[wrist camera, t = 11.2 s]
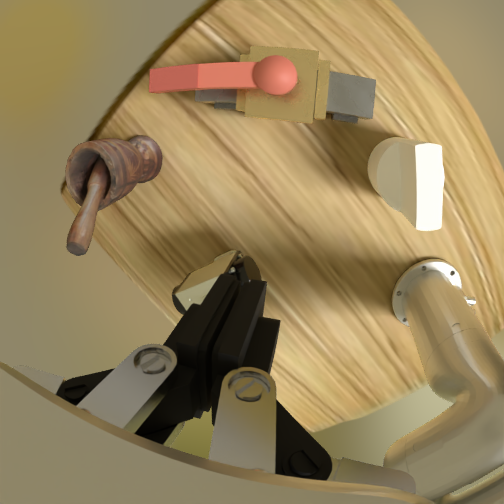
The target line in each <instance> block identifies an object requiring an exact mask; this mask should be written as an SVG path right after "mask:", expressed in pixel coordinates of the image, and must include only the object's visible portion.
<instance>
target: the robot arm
mask: <svg viewBox="0 0 504 504" xmlns="http://www.w3.org/2000/svg"><path fill="white" fill-rule="evenodd" d="M422 266H423V267H422ZM266 286H267V282H266V281H261V280H255V279H251V281H250V283H249V282H245V283H244V285H243V287H242V289H241V281H238V280H237V278H236V276H232V275H227V274H220V275H219V277H218V278H217V280H216V282H215V283H214V285H213V286H212V288H211V289H210V291H209V292H208V294H207V295H206V297H205V298H204V300H203V301H202V303H201V304H195V303H193V304H191V306H190V307H189V308H188V310H187V311H186V313H185V314H184V315H183V317H182V318H181V320H180V321H179V323H178V324H177V326H176V327H175V329H174V330H173V331H172V333H171V334H170V336H169V337H168V339H167V340H166V342H165V343H164V344H163V345H160V344H148V345H143V346H141V347H138V348H137V349H136V350H134V351H133V352H132V353H131V354H130V355H129V356H128V357H127V358H126V359H124V361H122V362H121V363H120V364H119V365H118V366H117V367H116V368H114V369H110V370H106V371H102V372H98V373H93V374H89V375H85V376H80V377H75V378H72V379H69V380H67V381H66V380H65V378H64V377H61V376H57V375H54V374H50V373H47V372H44V371H40V370H37V369H34V368H30V367H27V366H23V365H20V366H15V367H13V368H12V367H10V366H8V365H7V364H5V363H3V362H0V504H504V469H503V470H501V471H500V472H498V473H496V474H494V475H493V476H491V477H489V478H488V479H486V480H484V481H482V482H481V483H479V484H477V485H475V486H473V487H471V488H470V489H467V490H465V491H463V492H461V493H459V494H456V495H455V494H452V492H454V491H456V490H458V489H460V488H462V487H464V486H466V485H468V484H471V483H473V482H474V481H476V480H478V479H480V478H482V477H483V476H485V475H487V474H488V473H490V472H492V471H493V470H495V469H497V468H498V467H500V466H502V465H503V464H504V360H503V358H502V357H501V355H500V353H499V352H498V350H497V349H496V347H495V345H494V344H493V342H492V340H491V339H490V337H489V335H488V334H487V332H486V330H485V329H484V327H483V325H482V324H481V322H480V321H479V319H478V318H477V316H476V314H475V310H474V309H472V308H471V307H470V305H474V304H475V297H470V296H468V297H467V296H466V295H465V294H464V293H463V291H462V283H461V278H460V275H459V273H458V272H457V270H456V269H455V268H454V267H453V266H452V265H451V264H450V263H449V262H446V261H444V260H440V259H428V260H424V261H421V262H419V263H416V264H415V265H413V266H412V267H410V268H409V269H408V270H407V271H405V272H404V273H403V275H402V276H401V277H400V278H399V280H398V281H397V283H396V285H395V287H394V290H393V294H392V307H393V311H394V313H395V316H396V317H397V319H398V320H399V321H400V322H401V323H402V324H404V325H406V326H408V327H410V329H411V332H412V335H413V338H414V341H415V344H416V347H417V350H418V353H419V356H420V359H421V362H422V365H423V368H424V371H425V374H426V377H427V381H428V383H429V386H430V387H431V389H432V391H433V392H435V394H436V395H438V396H439V397H440V398H442V399H445V400H447V401H449V402H452V403H454V404H453V405H452V406H451V407H449V408H448V409H447V410H445V411H444V412H442V413H441V414H440V415H439V416H437V417H436V418H434V419H432V420H431V421H429V422H427V423H426V424H424V425H423V426H421V427H419V428H417V429H416V430H414V431H412V432H410V433H409V434H407V435H405V436H404V437H402V438H401V439H399V440H397V441H396V442H395V443H394V444H392V445H391V447H390V448H389V449H388V450H387V452H386V454H385V457H384V461H383V467H381V466H376V465H372V464H368V463H364V462H360V461H356V460H351V459H348V458H344V457H343V458H342V459H341V460H340V459H337V458H333V457H330V456H329V454H328V453H327V451H326V450H325V449H324V448H323V447H322V446H321V445H320V444H319V443H318V442H317V441H316V440H315V439H314V438H313V437H312V436H311V435H310V434H309V433H308V432H307V431H306V430H305V429H304V428H303V427H302V426H301V425H300V424H299V423H298V422H297V421H296V420H295V419H294V418H293V417H292V416H291V415H290V413H289V412H288V411H287V410H286V409H285V408H284V407H283V406H282V405H281V404H280V403H279V402H278V401H277V399H276V384H275V381H274V380H273V378H272V376H270V371H271V367H272V363H273V358H274V354H275V349H276V344H277V339H278V333H279V327H280V320H276V319H271V318H265V317H263V310H264V302H265V294H266ZM211 406H212V424H213V426H214V431H213V436H212V442H211V447H210V454H209V459H205V458H202V457H198V456H195V455H192V454H188V453H185V452H181V451H179V450H176V449H173V448H170V446H171V444H172V443H173V442H174V440H175V439H176V437H177V436H178V435H179V433H180V432H181V430H182V429H183V427H184V424H185V421H187V420H190V419H193V417H196V418H199V419H200V418H201V416H202V413H203V411H206V412H209V410H210V408H211Z"/></svg>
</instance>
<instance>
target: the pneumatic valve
mask: <svg viewBox="0 0 504 504" xmlns="http://www.w3.org/2000/svg"><path fill="white" fill-rule="evenodd" d="M220 274H227V275H232V276H236V278H237V280H238V281H241V289H242V287H243V285H244V283H245V282H249V283H250V281H251V279H255V280H261V275H260V272H259V269H258V267H257V265H256V263H255V262H254V260H253V259H252V258H251V257H249V256H244V257H243V255H242V254H241V252H240V251H238V252H237V251H236V250H231V251H228V252H226V253H224V254H222V255H220V256H217V257H215V259H214V262H213V263H211V264H209V265H207V266H205V267H203V268H200V269H198V270H196V271H194V272H192V273H189V274H188V275H187V277H186V278H185V279H184V280H183V282H182V283H181V284H180V285H178V286H176V287H175V288H174V289H173V292H172V299H173V303H174V305H175V307H176V309H177V310H178V311H179V312H180V313H181V314H183V315H184V314H185V313H186V311H187V310H188V308H189V307H190V306H191V304H193V303H195V304H201V303H202V301H203V300H204V298H205V297H206V295H207V294H208V292H209V291H210V289H211V288H212V286H213V285H214V283H215V282H216V280H217V278H218V277H219V275H220ZM261 281H262V280H261Z"/></svg>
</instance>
